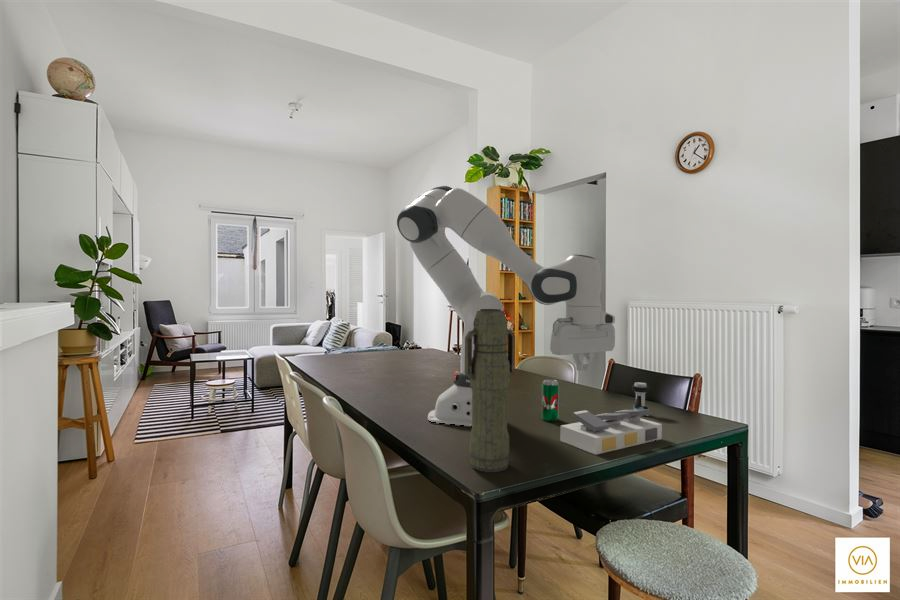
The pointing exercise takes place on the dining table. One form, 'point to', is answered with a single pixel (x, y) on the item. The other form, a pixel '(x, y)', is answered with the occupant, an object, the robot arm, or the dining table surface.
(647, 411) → the right rocker
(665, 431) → the dining table surface
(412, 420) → the dining table surface
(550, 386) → the soda can
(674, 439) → the dining table surface
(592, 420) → the left rocker
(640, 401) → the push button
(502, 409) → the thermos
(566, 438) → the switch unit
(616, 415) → the middle rocker
